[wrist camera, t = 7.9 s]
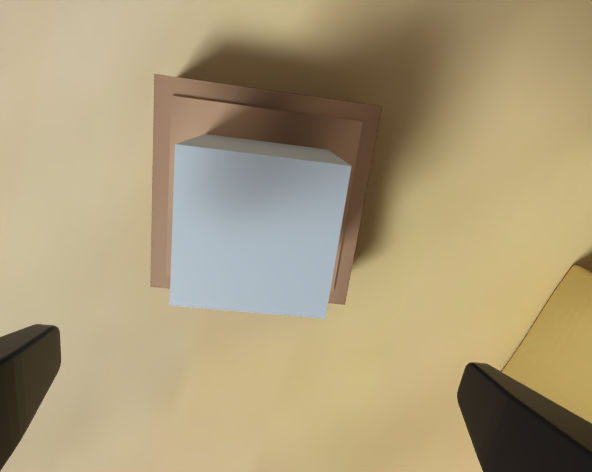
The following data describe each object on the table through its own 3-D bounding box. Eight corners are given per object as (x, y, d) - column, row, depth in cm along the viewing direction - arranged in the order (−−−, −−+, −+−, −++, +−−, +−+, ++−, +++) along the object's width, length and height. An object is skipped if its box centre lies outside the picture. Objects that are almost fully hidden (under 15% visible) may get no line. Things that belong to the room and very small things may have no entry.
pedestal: (365, 106, 18) (383, 106, 15) (335, 278, 21) (345, 306, 18) (173, 79, 18) (153, 73, 15) (167, 262, 20) (149, 288, 17)
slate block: (328, 149, 16) (351, 166, 11) (311, 261, 17) (325, 318, 13) (205, 133, 15) (174, 144, 11) (198, 250, 17) (169, 305, 12)
